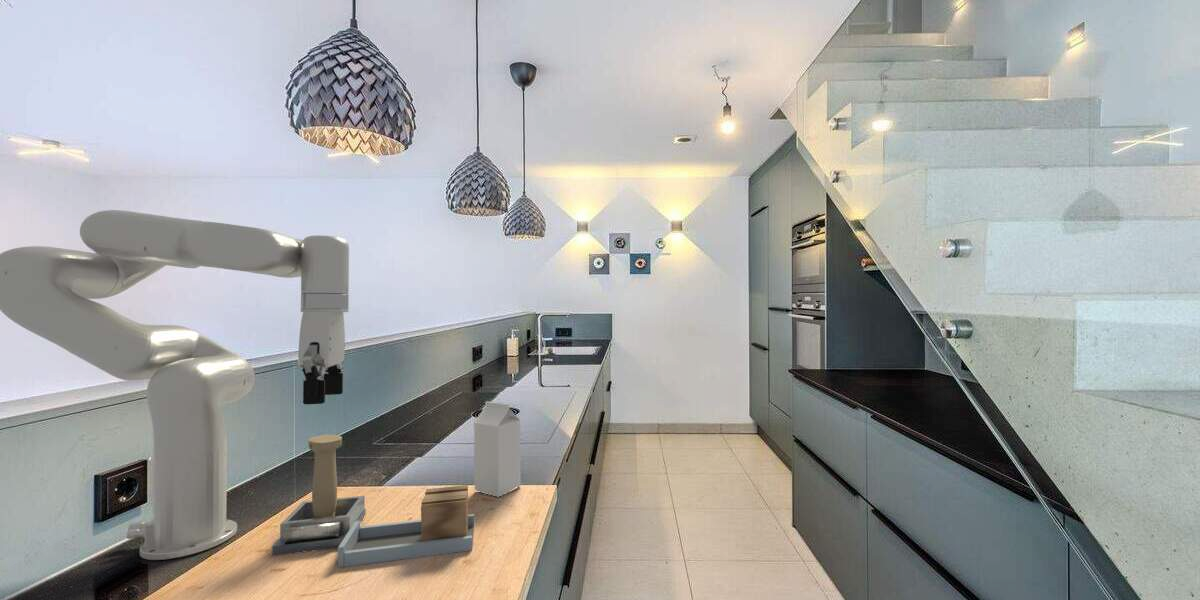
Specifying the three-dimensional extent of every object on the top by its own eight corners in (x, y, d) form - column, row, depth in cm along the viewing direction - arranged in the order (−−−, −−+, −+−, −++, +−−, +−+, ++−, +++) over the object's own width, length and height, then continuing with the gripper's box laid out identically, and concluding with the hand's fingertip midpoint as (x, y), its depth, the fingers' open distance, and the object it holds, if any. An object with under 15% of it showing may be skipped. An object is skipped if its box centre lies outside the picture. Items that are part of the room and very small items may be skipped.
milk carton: (498, 498, 97) (497, 407, 97) (474, 492, 101) (473, 404, 101) (521, 487, 103) (520, 401, 103) (497, 481, 107) (497, 398, 107)
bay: (337, 567, 71) (337, 547, 71) (355, 538, 80) (355, 521, 80) (472, 550, 76) (472, 531, 76) (474, 524, 85) (474, 508, 85)
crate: (421, 549, 75) (421, 503, 75) (427, 529, 82) (426, 488, 82) (466, 543, 77) (465, 499, 77) (468, 525, 83) (467, 484, 84)
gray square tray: (272, 555, 75) (272, 530, 75) (301, 523, 87) (301, 501, 87) (346, 546, 77) (346, 522, 78) (365, 516, 89) (365, 495, 89)
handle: (317, 532, 79) (319, 444, 80) (301, 523, 83) (303, 438, 84) (346, 522, 83) (347, 438, 84) (330, 513, 87) (331, 433, 88)
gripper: (319, 305, 92) (318, 392, 91) (280, 303, 75) (279, 409, 75) (360, 305, 94) (359, 390, 93) (332, 303, 77) (331, 406, 76)
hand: (324, 398), depth 84 cm, fingers open, 9 cm apart
